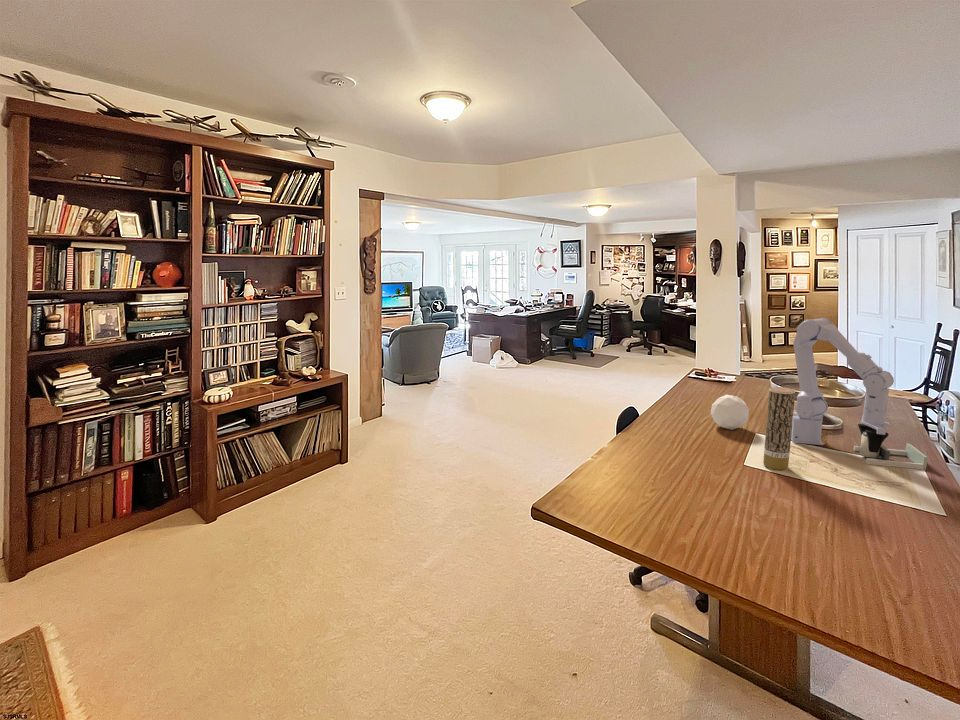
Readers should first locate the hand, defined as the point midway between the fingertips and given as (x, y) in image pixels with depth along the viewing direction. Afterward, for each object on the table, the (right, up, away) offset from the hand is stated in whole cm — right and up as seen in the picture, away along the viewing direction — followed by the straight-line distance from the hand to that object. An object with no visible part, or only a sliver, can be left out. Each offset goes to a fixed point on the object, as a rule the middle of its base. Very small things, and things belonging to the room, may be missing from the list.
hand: (870, 449), depth 158 cm
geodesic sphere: (-29, +2, +33) cm, 44 cm away
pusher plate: (+3, -3, -1) cm, 4 cm away
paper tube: (-34, -5, -5) cm, 35 cm away
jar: (0, -2, 0) cm, 2 cm away
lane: (+4, -3, -1) cm, 5 cm away
